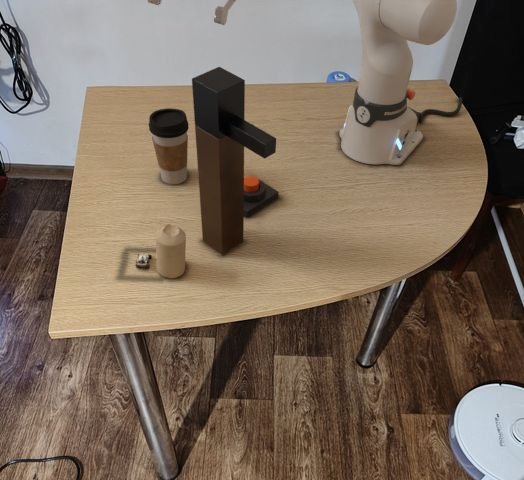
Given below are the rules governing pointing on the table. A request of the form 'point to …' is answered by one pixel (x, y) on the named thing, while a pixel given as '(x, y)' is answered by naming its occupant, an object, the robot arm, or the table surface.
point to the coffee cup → (170, 143)
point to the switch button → (251, 184)
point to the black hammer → (227, 111)
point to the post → (220, 190)
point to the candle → (170, 251)
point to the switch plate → (259, 198)
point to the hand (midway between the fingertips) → (187, 13)
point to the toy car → (143, 260)
